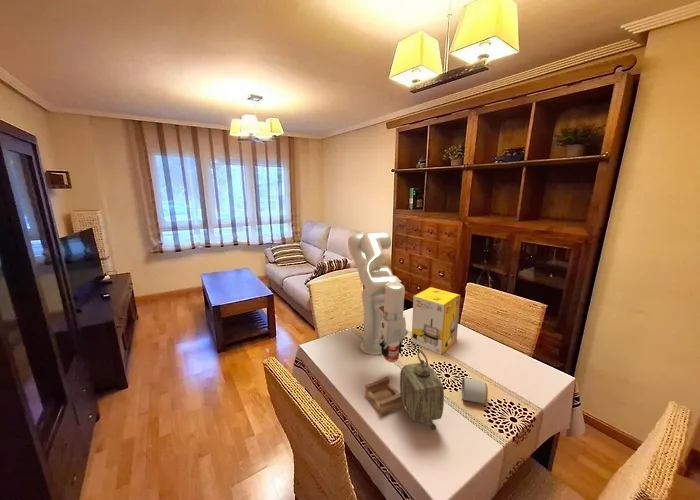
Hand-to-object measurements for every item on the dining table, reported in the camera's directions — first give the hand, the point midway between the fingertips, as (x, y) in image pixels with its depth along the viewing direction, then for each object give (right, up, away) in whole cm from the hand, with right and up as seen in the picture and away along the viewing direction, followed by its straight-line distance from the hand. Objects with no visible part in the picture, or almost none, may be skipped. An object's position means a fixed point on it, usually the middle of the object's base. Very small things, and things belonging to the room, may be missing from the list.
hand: (391, 352), depth 115 cm
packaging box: (+26, -5, +28) cm, 38 cm away
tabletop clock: (+7, -16, -19) cm, 25 cm away
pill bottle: (0, -3, +1) cm, 3 cm away
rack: (-4, -14, -11) cm, 18 cm away
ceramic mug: (+29, -13, -9) cm, 33 cm away
